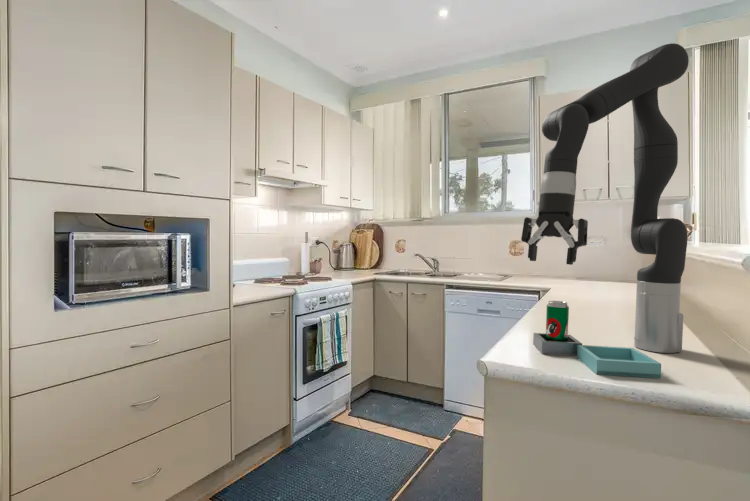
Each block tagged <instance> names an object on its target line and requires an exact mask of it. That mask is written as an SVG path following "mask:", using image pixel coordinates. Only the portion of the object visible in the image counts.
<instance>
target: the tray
mask: <svg viewBox="0 0 750 501" xmlns="http://www.w3.org/2000/svg"><path fill="white" fill-rule="evenodd" d="M576 358H577V359H578V360H579V361H581V363H582V364H584V365H585V366H586V367H587V368H588V369H590V370H591V371H592V372H593V373H594V374H595V375H599V376H613V377H614V376H616V377H630V378H631V377H632V378H647V379H661V377H662V363H661V362H659V361H657V360H656V359H654V358H652V357H650V356H648V355H646V354H645V353H643V352H642V351H640V350H638V349H636V348H635V347H625V346H623V347H622V346H621V347H620V346H606V345H604V346H602V345H586V344H585V345H583V344H582V345H577V356H576Z"/></svg>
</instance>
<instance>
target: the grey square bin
mask: <svg viewBox="0 0 750 501" xmlns="http://www.w3.org/2000/svg"><path fill="white" fill-rule="evenodd" d="M532 337H533V338H532V341H533V342H532V343H533V344H532V345H534V347H535V348H536V349H537V351H539V352H540V354H541V355H553V356H554V355H555V356H556V355H558V356H570V357H575V356H576V357H577V345H583V343H582V341H581V342H580V341H579V340H578V339H577V338H575V337H574V336H572V335H571V334H568V342H562V341H546V332H545V333H544V332H543V333H541V332H533V336H532Z"/></svg>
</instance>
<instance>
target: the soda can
mask: <svg viewBox="0 0 750 501" xmlns="http://www.w3.org/2000/svg"><path fill="white" fill-rule="evenodd" d="M569 314H570V307H569V305H568V302H567V301H562V300H549V301H548V302H547V304H546V315H545V318H546V319H545V333H546V341H562V342H568V335H569Z"/></svg>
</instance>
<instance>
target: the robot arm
mask: <svg viewBox="0 0 750 501" xmlns="http://www.w3.org/2000/svg"><path fill="white" fill-rule="evenodd" d="M689 62H690V60H689V55H688V52H687V50H686V49H685V48H684V46H682V45H680V44H679V43H675V42H674V43H671V42H670V43H668V44H662V45H659V46H658V47H656V48H654V49H651V50H650V51H648V52H646V53H644V54H641V55H640V56H638V57H636V58H635V59H634V60H633V62H632V63H631V64H630V68H629V71H627V72H626V73H623V74H622V75H619V76H617V77H615V78H613V79H610V80H609V81H608V80H607V81H606V82H604V83H602V84H601V85H598V86H597V87H595V88H593V89H591V90H590V91H588V92H586V93H585V94H584V95H582V96H580V97H579V98H578V99H576V100H574V101H572V102H570V103H567V104H566V105H563V106H562V107H560V108H558V109H556V110H553V111H552V112H550V113H549V114H547V115H546V117H545V118H544V120H543V122H542V125H541V132H542V135H543V136H544V137H545V139H547V140H549V141H552V142H556V143H555V145H554V146H553V147H551V148H550V149H549V150H548V151H547V152H546V154H545V156H544V157H545V158H544V164H543V175H542V179H541V184H540V185H541V186H540V189H539V192H540V193H539V204H538V214H537V215H538V216H537V217H536V218H531V217H529V216H528V217H526V216H525V218H524V220H523V225H522V226H523V227H522V232H521V237H520V239H521V241H522V242H523V243H525V244H527V245H528V250H527V252H528V253H527V259H529V261H530V262H536V261H537V257H538V255H537V254H538V244H539V242H540V241H542V240H543V239H544V238H545V237H548V238H552V237H555V238H562V239H563V240H564V241H565V242H566V244H567V246H568V248H567V251H566V252H567V255H566V265H571V266H572V265H573V264H574V263H575V262H576V260H577V255H578V254H577V253H578V249H580V248H581V247H585V246H587V245H588V225H589V224H588V222H589V221H588V219H585V218H579V219H574V210H575V202H576V201H575V200H576V193H577V192H576V191H577V171H578V170H577V169H578V160H579V154H580V153H581V150H582V147H583V144H584V142H585V140H586V137H587V133H588V130H589V126H590V124H594V123H596V122H598V121H600V120H602V119H604V118H605V117H607V116H609V115H610V114H612V113H613V112H615V111H616V110H618V109H620V108H621V107H623V106H624V105H626V104H628V103H630V102H631V105H632V106H631V107H632V114H633V170H634V172H633V173H634V184H633V186H634V189H633V191H634V192H633V193H634V194H633V207H632V216H631V217H632V218H631V223H630V224H631V226H630V240H631V245H632V247H633V249H634V250H635V252H637V253H639V254H641V255H642V254H643V255H653V256H654V255H655V256H654V257H655V259H654V261H653V263H651V264H650V265H648V266H645V267H642V268H639V269H638V271H637V273H636V298H635V320H634V321H635V322H634V337H633V338H634V339H633V340H634V344H633V345H634V346H635V348H637V349H640V350H643V351H644V350H645V351H648V352H654V353H662V354H663V353H664V354H675V353H682V352H683V333H684V332H683V330H684V314H683V313H680V312H681V311H680V309H681V308H680V307H681V306H680V305H681V284H682V276H683V274H684V271H685V266H686V258H687V257H686V256H687V247H688V230H687V227H686V225H685V223H684V221H682V220H681V219H679V218H674V217H673V218H672V217H671V218H669V217H668V218H664V217H663V218H658V208H659V203H660V199H661V195H662V194H663V192H664V191H665V188H666V187H667V186H668V184H669V182H670V181H671V179H672V177H673V176H674V173H675V172H676V169H677V167H678V163H679V162H678V161H679V155H678V154H679V151H678V150H679V149H678V148H679V142H678V137H677V134H676V132H675V130H674V128H673V127H672V126H671V124H670V123H669V122H668V121H667V119H665V117H664V115H663V114H662V112H661V109H660V107H659V95H658V94H659V88H661V87H664V86H667V85H670V84H671V83H674V82H676V81H677V80H679V79H680V78H681V77H683V75H684V74H685V73H686V71H687V69H688V66H689ZM535 225H537V228H538V229H536V231H535V232H534V233H533V235H532V232H533V228H534V227H535ZM573 226H575V229H577V241H576V239H575V237H574V235H573V234H572V232H571V231H570V230H571V229H572V227H573Z"/></svg>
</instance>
